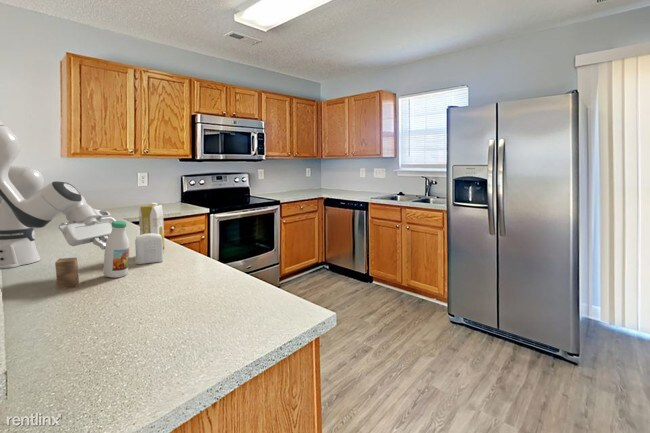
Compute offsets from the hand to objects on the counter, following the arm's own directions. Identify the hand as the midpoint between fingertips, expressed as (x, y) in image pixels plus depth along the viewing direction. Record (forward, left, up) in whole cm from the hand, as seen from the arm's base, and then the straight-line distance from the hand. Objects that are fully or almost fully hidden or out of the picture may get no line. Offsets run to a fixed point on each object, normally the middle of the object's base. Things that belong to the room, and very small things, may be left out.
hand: (107, 248), depth 128 cm
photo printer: (+13, +14, -11) cm, 22 cm away
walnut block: (-11, -8, -10) cm, 17 cm away
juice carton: (+14, +25, -11) cm, 30 cm away
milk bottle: (+2, -1, -10) cm, 10 cm away
